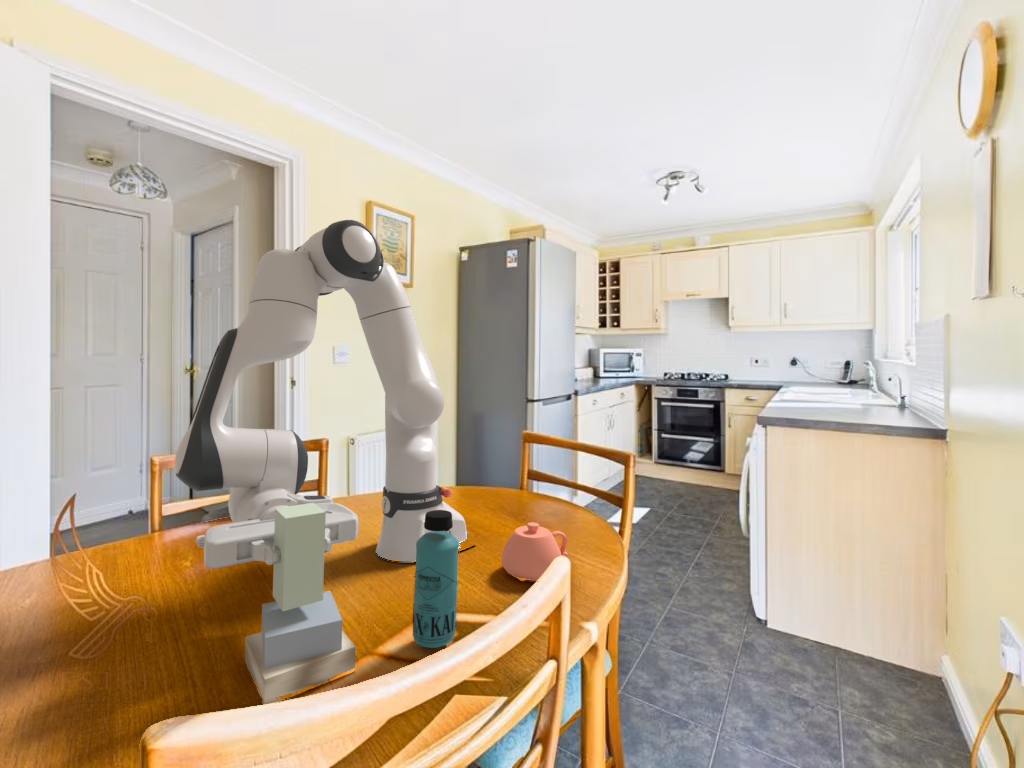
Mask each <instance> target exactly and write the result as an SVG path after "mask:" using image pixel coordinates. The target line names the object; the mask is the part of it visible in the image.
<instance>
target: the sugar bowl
mask: <svg viewBox="0 0 1024 768" xmlns="http://www.w3.org/2000/svg"><path fill="white" fill-rule="evenodd" d="M557 536H561V543H560V546H559V544H558V542H557V540H556V538H555V537H557ZM567 542H568V540H567V535H566V534H565V533H564V532H562V531H560V530H555V531H552V532H551V531H550V529H548V528H546V527H543V526H540V524H539V522H538V523H537V522H527V524H526V525H523V526H522V525H521V526H519V527H517V528H515V529H514V531H513V532H512V533H511V534H510V536H509V538H508V539H507V541H506V542H505V545H504V546H503V550H502V554H501V560H500V561H501V565H502V567H503V568H504V570H505V571H506V572H507V574H509V575H510V574H511V575H513V576H515V577H519V578H526V579H531V580H532V581H531V582H537V581H536V580H537V579H538V578H539V577H540V575H541V574H542V573H543V572H544V571H545V569H546V568H547V567H548V566H549V565H550V563H551V562H552V561H553V559H554V558H556V557H557V556H560V555H563V556H564V557H565V556H568V557H570V556H569V554H568V552H567V551H565V550H566V548H567ZM511 575H510V576H511Z"/></svg>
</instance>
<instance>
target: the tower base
mask: <svg viewBox="0 0 1024 768" xmlns="http://www.w3.org/2000/svg"><path fill="white" fill-rule="evenodd" d="M244 639H245V640H244V642H245V643H244V663H245V662H246V663H245V665H246V664H247V666H246V668H247V667H248V668H247V670H248V669H249V670H248V672H249V671H250V673H251V675H250V677H251V676H252V678H253V680H254V682H255V684H256V686H257V688H258V690H259V692H260V695H261V697H262V700H263V701H261V704H262V705H263V704H266V703H270V702H275V701H281V700H284V701H286V700H285V699H278V700H277V699H276V697H279V696H284V695H286V694H289V693H295V692H296V691H298V690H302V689H304V688H306V687H308V686H315V685H318V684H320V683H323V682H324V681H327V680H328V679H331V678H332V677H333V676H335V675H338V674H341V673H343V672H347V671H349V670H351V669H353V668H355V669H356V648H357V647H356V645H355V644H354V643H353V641H352V640H351V639H350V637H348V635H347V634H346V633H345V632H344V630H342V650H338V651H334V652H330V653H326V654H322V655H319V656H315V657H311V658H307V659H303V660H299V661H296V662H292V663H288V664H284V665H280V666H277V667H273V668H269V669H265V666H264V654H263V643H262V631H260V632H256V633H253V634H250V635H248V636H246V635H245V637H244ZM250 673H249V674H250ZM252 678H251V679H252ZM253 680H252V681H253ZM254 682H253V683H254ZM287 700H290V698H287Z"/></svg>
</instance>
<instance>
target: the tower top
mask: <svg viewBox="0 0 1024 768" xmlns="http://www.w3.org/2000/svg"><path fill="white" fill-rule="evenodd" d="M342 631H343V618H342V615H341V614H340V611H339V608H338V606H337V603H336V601H335V599H334V596H333V593H332V590H327V591H323V600H322V601H319V602H315V603H311V604H308V605H304V606H301V607H297V608H294V609H290V610H286V611H282V610H281V608H280V606H279V605H278V603H277V602H276V601H272V602H267V603H262V604H261V632H262V643H263V654H264V666H265V669H269V668H273V667H277V666H280V665H284V664H288V663H292V662H296V661H299V660H303V659H307V658H311V657H315V656H319V655H322V654H326V653H330V652H334V651H338V650H342Z"/></svg>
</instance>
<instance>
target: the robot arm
mask: <svg viewBox="0 0 1024 768" xmlns="http://www.w3.org/2000/svg"><path fill="white" fill-rule="evenodd" d="M256 267H257V268H256V270H255V274H254V276H253V280H252V284H251V289H250V294H249V302H248V308H247V309H248V310H247V312H246V315H245V318H244V319H243V321H242V322H241V323H240V324H239V326H237V328H236V327H235V328H232V329H229V330H227V331H226V332H225V333H224V335H223V336H222V337H221V339H220V341H219V343H218V345H217V347H216V350H215V352H214V355H213V358H212V360H211V363H210V365H209V368H208V370H207V373H206V377H205V380H204V383H203V386H202V389H201V391H200V394H199V398H198V400H197V403H196V406H195V408H194V412H193V415H192V417H191V420H190V421H189V422H190V423H189V426H188V428H187V431H186V432H185V434H184V436H183V437H182V439H181V440H180V441H181V442H180V443H179V446H178V448H177V451H176V454H175V458H174V469H175V477H177V479H178V480H179V481H181V482H182V484H184V485H185V486H187V487H188V488H190V489H191V490H193V491H195V492H202V491H214V490H222V489H231V488H232V491H230V494H229V496H228V500H227V501H228V514H229V517H230V520H231V521H232V522H229V523H225V524H224V523H223V524H218V525H214V526H210V527H209V528H208V529H207V530H206V531H205V533H204V534H201V535H198V536H196V539H195V543H196V545H197V547H199V548H202V549H203V563H204V567H206V568H208V569H219V568H225V567H229V566H235V565H239V564H245V563H248V562H250V563H251V562H254V561H259V562H264V563H266V565H267V566H271V565H274V564H275V563H279V562H280V561H281V558H280V556H281V550H280V548H279V547H278V546H274V530H275V508H281V507H288V506H294V505H301V504H308V503H315V504H316V505H317V506H319V507H320V508H321V509H322V510H324V511H325V512H326V519H325V550H324V554H326V553H330V552H331V550H332V545H336V544H340V543H341V544H342V543H346V542H350V541H355V539H357V537H358V535H359V517H358V515H357V513H355V512H354V511H353V510H351V509H350V508H348V507H347V506H345V505H343V504H341V503H338V502H334V499H333V497H332V496H329V495H300V494H298V493H299V492H300V490H301V489H302V488H303V485H304V484H305V481H306V477H307V473H308V468H309V467H308V466H309V455H308V454H309V453H308V450H307V447H306V446H305V443H304V442H303V440H302V439H301V438H300V436H299V435H298V434H297V433H296V432H295V431H293V430H291V429H290V430H288V429H276V428H275V429H274V428H248V427H234V426H233V427H231V426H227V425H226V424H224V422H223V421H224V418H225V415H226V412H227V410H228V405H229V403H230V400H231V398H232V397H231V396H232V395H233V392H234V391H233V390H234V388H235V385H236V381H237V379H238V377H239V376H240V375H241V373H242V372H244V371H245V370H247V369H250V368H252V367H257V366H261V365H265V364H270V363H274V362H280V361H284V360H287V359H291V358H294V357H296V356H297V355H300V354H302V352H304V351H306V350H307V348H309V347H310V345H311V344H312V342H313V339H314V337H315V333H316V328H317V319H318V318H317V317H318V300H319V298H320V296H326V295H330V294H333V293H334V292H336V291H340V290H343V289H344V290H345V292H347V293H348V295H349V296H350V298H351V299H352V301H353V302H354V304H355V308H356V312H357V315H358V318H359V322H360V324H361V328H362V331H363V333H364V334H363V335H364V337H365V340H366V344H367V346H368V350H369V352H370V355H371V358H372V361H373V363H374V367H375V368H376V371H377V373H378V377H379V379H380V382H381V385H382V388H383V390H384V393H385V395H384V419H385V421H384V423H385V427H384V429H385V431H384V432H385V473H384V474H385V479H384V480H385V481H384V482H385V483H384V486H383V487H382V500H381V503H382V504H381V505H382V523H381V530H380V534H379V538H378V543H377V545H376V547H375V548H376V549H375V554H376V553H377V554H378V555H377V554H376V555H377V556H378V557H379V556H380V557H379V558H381V557H382V558H381V559H383V558H385V559H389V560H397V561H398V560H399V561H412V560H413V561H415V560H416V542H417V540H418V539H419V538H420V537H421V536H423V535H424V534H425V533H427V532H431V531H430V530H427V529H425V528H424V522H425V515H426V513H427V512H429V511H433V510H446V511H449V512H451V513H452V522H453V527H452V528H451V529H449V530H446V531H445V532H449V533H451V534H452V535H453V536H454V537H455V538H456V539H457V540H458V542H459V543H461V542H463V541H465V540H466V539H467V532H468V531H467V525H466V521H465V518H464V516H463V515H462V514H461V513H460V512H458V511H457V510H455V509H454V508H453V507H451V505H449V504H448V503H446V502H445V501H444V500H443V497H444V498H446V499H447V498H451V495H452V493H453V492H452V490H451V489H450V488H448V487H446V486H443V487H441V486H439V485H437V465H438V464H437V463H438V461H437V460H438V449H437V443H436V442H437V441H436V430H435V422H436V421H437V420H439V418H440V417H441V415H442V413H443V411H444V407H445V397H444V394H443V392H442V388H441V386H440V384H439V381H438V377H437V375H436V372H435V370H434V368H433V365H432V363H431V361H430V357H429V355H428V353H427V351H426V348H425V346H424V343H423V341H422V338H421V335H420V332H419V328H418V326H417V322H416V318H415V315H414V311H413V309H412V307H411V303H410V301H409V296H408V295H407V292H406V289H405V287H404V285H403V283H402V281H401V278H400V277H399V275H398V273H397V271H396V270H395V268H394V267H393V266H392V264H390V263H388V262H386V261H384V254H383V252H382V251H381V247H380V245H379V243H378V241H377V238H376V237H375V235H374V234H373V233H372V232H371V230H370V229H369V228H368V227H367V226H366V225H365V224H364V223H362V222H360V221H357V220H354V219H344V220H343V219H342V220H338V221H335V222H333V223H331V224H329V225H328V226H327V227H325V228H323V229H321V230H319V231H317V232H316V233H314V234H312V235H311V236H310V237H309V238H308V240H306V241H305V242H304V243H302V245H300V246H299V247H297V248H296V249H293V250H292V249H289V248H276V249H273V250H272V249H271V250H270V251H267V252H265V253H264V254H263V255H262V257H260V259H259V262H258V264H257V266H256ZM459 545H460V544H459ZM460 546H461V545H460ZM460 546H459V547H458V549H459V548H461V547H460ZM385 559H384V560H385ZM389 560H388V561H389Z"/></svg>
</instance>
